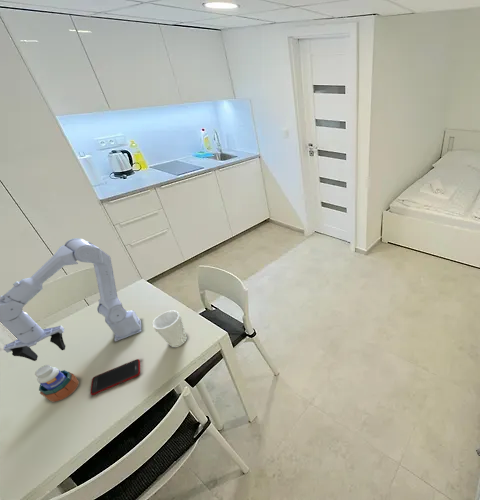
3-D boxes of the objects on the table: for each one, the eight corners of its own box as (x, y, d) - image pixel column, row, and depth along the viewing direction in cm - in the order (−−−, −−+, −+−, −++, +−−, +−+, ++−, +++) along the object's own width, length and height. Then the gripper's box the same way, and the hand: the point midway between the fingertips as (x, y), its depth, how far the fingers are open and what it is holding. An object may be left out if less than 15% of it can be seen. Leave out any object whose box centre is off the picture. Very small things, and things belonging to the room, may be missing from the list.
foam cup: (160, 346, 116) (146, 324, 108) (179, 329, 123) (167, 307, 115) (177, 353, 113) (164, 331, 105) (195, 335, 120) (184, 314, 112)
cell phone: (93, 378, 104) (92, 377, 104) (140, 359, 110) (139, 358, 110) (91, 396, 99) (89, 395, 98) (140, 375, 105) (139, 373, 104)
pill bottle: (58, 395, 97) (40, 379, 92) (45, 392, 98) (27, 376, 93) (74, 380, 102) (57, 364, 96) (61, 377, 103) (44, 361, 97)
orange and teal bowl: (80, 373, 106) (71, 364, 103) (77, 393, 100) (68, 384, 97) (50, 385, 102) (40, 377, 99) (45, 407, 96) (34, 398, 93)
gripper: (-11, 347, 88) (20, 372, 96) (51, 326, 94) (74, 351, 102) (-4, 332, 93) (24, 357, 100) (54, 312, 99) (76, 337, 107)
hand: (50, 353), depth 102 cm, fingers open, 7 cm apart
